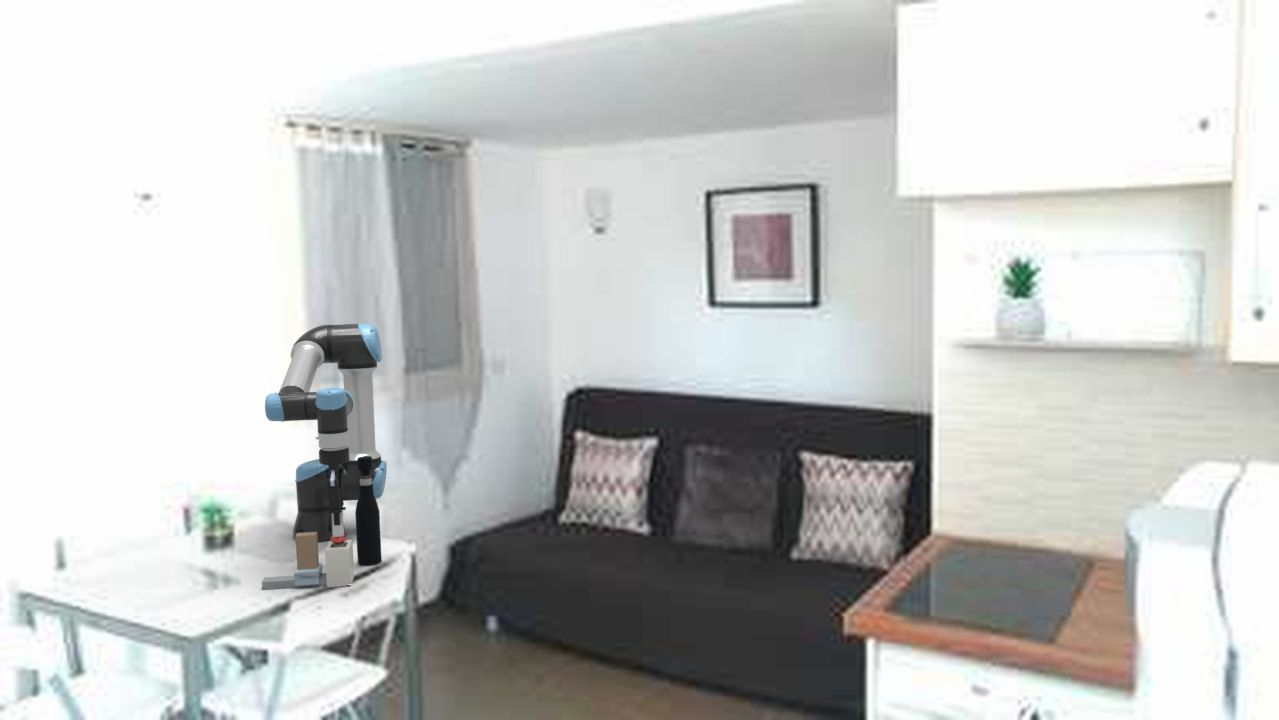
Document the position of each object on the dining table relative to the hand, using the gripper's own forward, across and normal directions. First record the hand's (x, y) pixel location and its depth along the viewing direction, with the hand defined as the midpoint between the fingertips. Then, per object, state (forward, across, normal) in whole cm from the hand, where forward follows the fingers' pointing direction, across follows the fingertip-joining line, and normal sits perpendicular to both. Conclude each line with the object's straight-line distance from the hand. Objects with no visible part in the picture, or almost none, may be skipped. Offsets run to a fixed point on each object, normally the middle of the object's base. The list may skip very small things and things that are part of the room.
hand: (338, 535), depth 258 cm
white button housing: (+12, 0, 0) cm, 12 cm away
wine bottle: (+13, -15, +6) cm, 21 cm away
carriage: (+12, 0, -8) cm, 15 cm away
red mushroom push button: (+7, 0, 0) cm, 7 cm away
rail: (+12, 0, -11) cm, 17 cm away
